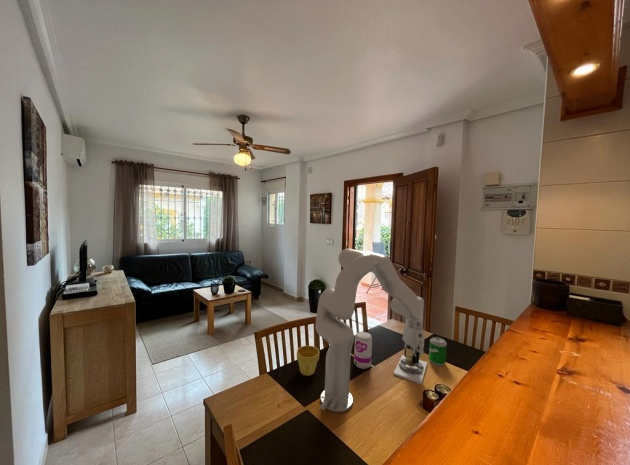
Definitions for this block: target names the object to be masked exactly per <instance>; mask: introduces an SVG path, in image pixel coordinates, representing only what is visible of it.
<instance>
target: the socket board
mask: <svg viewBox="0 0 630 465" xmlns="http://www.w3.org/2000/svg"><path fill="white" fill-rule="evenodd" d="M404 355H405V354H401V356H400V358H399V361H398V363H397V366H396V367H395V369H394V372H393V376H396V377H398V378H402V379H405V380H408V381H411V382H413V383H417V384H418V385H419V384H420V385H422V384H423V381H424V377H425V373H426V370H427V368H428V367H427V366H428V362H427V361H424V360H421V359H419V363H418V364H417V366H415V367H412V366H409V365H407V364H406V357H405V356H404Z"/></svg>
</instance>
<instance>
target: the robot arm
mask: <svg viewBox="0 0 630 465" xmlns="http://www.w3.org/2000/svg"><path fill="white" fill-rule="evenodd" d="M338 263H339V264H340V265H339V266H341V267H342V269H341V271H340V272H339V274H338V275H337V277H336V279H335V284H334V288H333V287H330V288H326V289H324V291H323V292H322V293H321V295H320V296H319V298H318V303H317V310H316V317H315V330H316V333H317V334H318V335H319V336H320V338H322V339H323V340H325V342H327V343H328V345H329V347H328V350H327V351H326V355H325V366H324V367H325V372H324V374H325V375H324V376H325V377H324V390H323V391H322V392H321V394H320V399H319V401H320V403H321V404H320V405H319V406H320V409H321V410H323V411H325V410H328V411H329V412H333V413H343V412H346V411H348V410H350V409H351V408H352V406H353V401H354V399H353V395H352V394H351V393H350V383H351V380H350V378H351V357H352V350H353V349H352V348H353V345H354V342H355V334H354V333H355V332H354V331H353V329H352V328H351V326H350V325H348V324H347V323H346V322H345V321H348V320H349V319H351V318H352V316H353V314H354V312H355V305H356V297H357V291H358V286H359V284H360V282H361V280H362V279H364V278H365V276H366V275H368V274H369V273H372V274H373V275H374V276H375V278H376V279H377V281H378V283H379V285H380V287H381V288H382V290H383V291H384V292H385V293H386V294H388V295H389V296H390V297H392V300H391V301H390V304H389V305H390V309H391V311H392V312H394V313H395V314H398V315H400V316H403V317H404V318H405V323H404V325H403V326H404V327H403V332H402V333H403V334H402V336H401V339H402V341H403V345H404V346H403V348H404V354H403V355H404V356H405V357H406V345H409V346H410V347H411V348H412V349H413V353H414V355H413V359H412V363H413V364H418V363H419V360H420V356H421V355H423V354H425V351H424V348H425V333H424V328H423V321H424V307H425V304H424V303H425V301H424V298H423V297H421V296H418V295H416V293H415V292H414V291H413V290H412V289H411V288H410V287H409V286H408V285H407V284H406V283H405V282H404V281H403V280H401V279H400V278H401V277H400V276H399V275H398V272H397V270H396V268H395V266H394V265H393V263H392V261H391V260H390V258H389V257H388V256H387V255H384V254H382V253H377V252H372V251H367V250H359V249H354V248H353V249H352V248H345V249H342V251H340V252H339V255H338ZM416 350H417V353H416Z"/></svg>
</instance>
